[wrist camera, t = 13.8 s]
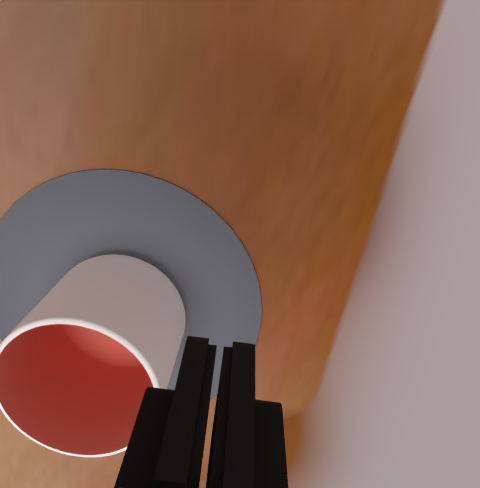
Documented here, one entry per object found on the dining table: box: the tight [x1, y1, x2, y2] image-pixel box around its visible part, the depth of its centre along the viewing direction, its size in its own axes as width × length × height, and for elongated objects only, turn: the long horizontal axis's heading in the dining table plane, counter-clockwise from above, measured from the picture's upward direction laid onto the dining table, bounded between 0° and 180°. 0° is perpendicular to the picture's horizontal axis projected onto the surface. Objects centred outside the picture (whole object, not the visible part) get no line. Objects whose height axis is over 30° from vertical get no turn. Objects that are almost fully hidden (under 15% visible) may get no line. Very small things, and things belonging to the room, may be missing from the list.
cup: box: [0, 254, 185, 457], centre depth 31 cm, size 10×10×10 cm
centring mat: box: [0, 169, 262, 399], centre depth 35 cm, size 22×22×1 cm
